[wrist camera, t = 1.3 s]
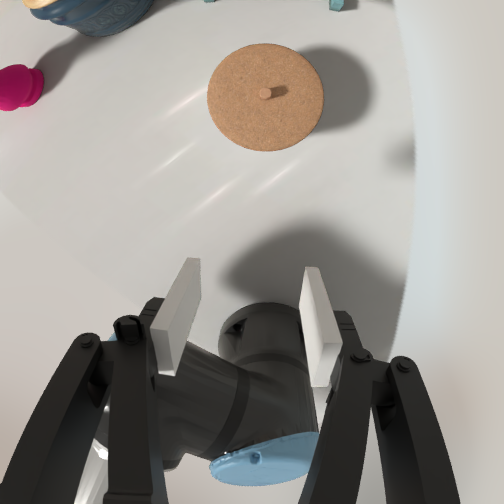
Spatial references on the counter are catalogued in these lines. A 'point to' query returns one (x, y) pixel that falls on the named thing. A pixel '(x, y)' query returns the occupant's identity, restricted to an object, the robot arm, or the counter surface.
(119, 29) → the canister
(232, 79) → the lidded jar
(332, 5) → the overhang shelf
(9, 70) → the pepper mill
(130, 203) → the counter surface
